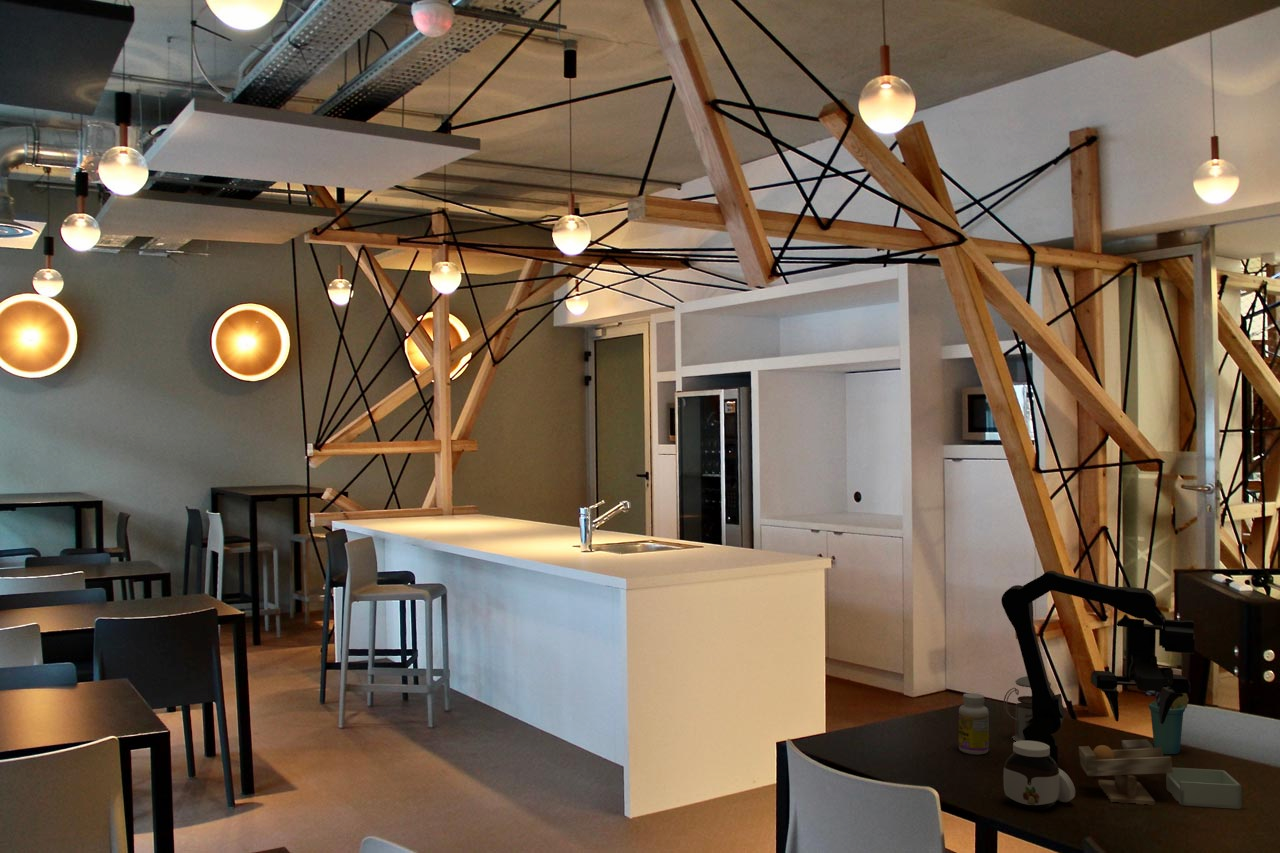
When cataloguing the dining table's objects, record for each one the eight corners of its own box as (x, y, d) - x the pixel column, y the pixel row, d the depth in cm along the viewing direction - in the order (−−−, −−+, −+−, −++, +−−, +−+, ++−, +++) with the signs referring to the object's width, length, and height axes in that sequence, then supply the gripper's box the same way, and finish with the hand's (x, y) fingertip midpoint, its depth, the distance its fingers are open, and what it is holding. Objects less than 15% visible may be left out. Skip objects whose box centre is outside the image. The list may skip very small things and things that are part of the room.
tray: (1180, 805, 214) (1180, 782, 214) (1166, 788, 223) (1166, 767, 224) (1241, 809, 212) (1241, 785, 212) (1224, 792, 221) (1224, 770, 221)
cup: (1162, 761, 243) (1162, 693, 243) (1130, 752, 249) (1130, 687, 249) (1198, 751, 250) (1198, 686, 250) (1166, 743, 257) (1166, 679, 257)
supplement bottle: (954, 747, 253) (954, 692, 253) (981, 746, 254) (981, 691, 254) (965, 755, 246) (965, 699, 247) (993, 755, 247) (993, 698, 247)
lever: (1087, 776, 218) (1085, 756, 219) (1071, 752, 235) (1069, 733, 235) (1172, 772, 215) (1170, 752, 215) (1150, 748, 232) (1147, 729, 232)
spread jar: (998, 803, 214) (998, 744, 215) (1020, 789, 223) (1020, 732, 223) (1060, 817, 207) (1060, 756, 207) (1080, 802, 215) (1080, 743, 215)
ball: (1098, 770, 219) (1092, 751, 220) (1094, 764, 223) (1088, 745, 224) (1118, 765, 219) (1112, 745, 219) (1114, 759, 223) (1107, 740, 223)
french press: (1061, 746, 254) (1061, 639, 254) (1011, 746, 254) (1011, 639, 254) (1046, 734, 264) (1046, 631, 264) (998, 734, 264) (998, 631, 264)
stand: (1111, 802, 215) (1111, 777, 215) (1098, 783, 227) (1098, 759, 227) (1154, 805, 214) (1154, 779, 214) (1139, 785, 225) (1139, 761, 225)
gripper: (1105, 654, 224) (1103, 730, 224) (1201, 658, 221) (1199, 735, 221) (1090, 643, 235) (1089, 716, 235) (1182, 648, 232) (1180, 720, 232)
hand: (1139, 722), depth 231 cm, fingers open, 9 cm apart
